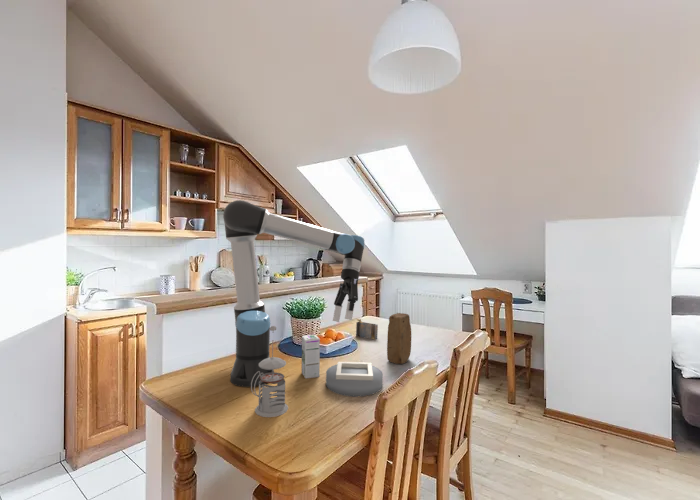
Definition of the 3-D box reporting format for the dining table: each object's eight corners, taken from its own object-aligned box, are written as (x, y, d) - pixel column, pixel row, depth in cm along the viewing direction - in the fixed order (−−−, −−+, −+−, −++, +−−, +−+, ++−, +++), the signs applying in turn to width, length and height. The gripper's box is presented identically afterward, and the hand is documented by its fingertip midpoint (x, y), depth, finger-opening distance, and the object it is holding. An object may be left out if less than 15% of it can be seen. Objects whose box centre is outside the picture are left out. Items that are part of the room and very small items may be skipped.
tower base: (323, 395, 113) (323, 378, 113) (328, 372, 133) (328, 357, 133) (384, 397, 113) (385, 380, 112) (380, 373, 132) (380, 359, 132)
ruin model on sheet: (355, 336, 183) (356, 318, 183) (358, 335, 186) (358, 317, 185) (374, 340, 177) (375, 321, 177) (377, 339, 180) (377, 320, 180)
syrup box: (319, 376, 128) (320, 338, 127) (304, 378, 126) (305, 339, 125) (315, 371, 133) (316, 334, 133) (300, 373, 131) (301, 335, 131)
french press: (295, 408, 104) (296, 326, 103) (261, 423, 95) (263, 333, 94) (275, 398, 110) (276, 320, 110) (242, 410, 102) (244, 326, 101)
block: (400, 366, 141) (401, 317, 140) (384, 361, 145) (386, 314, 145) (413, 359, 149) (414, 313, 148) (398, 355, 154) (399, 310, 153)
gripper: (371, 267, 137) (363, 320, 130) (347, 277, 159) (339, 323, 152) (354, 262, 134) (345, 316, 127) (332, 273, 157) (323, 320, 150)
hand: (341, 320), depth 140 cm, fingers open, 13 cm apart
